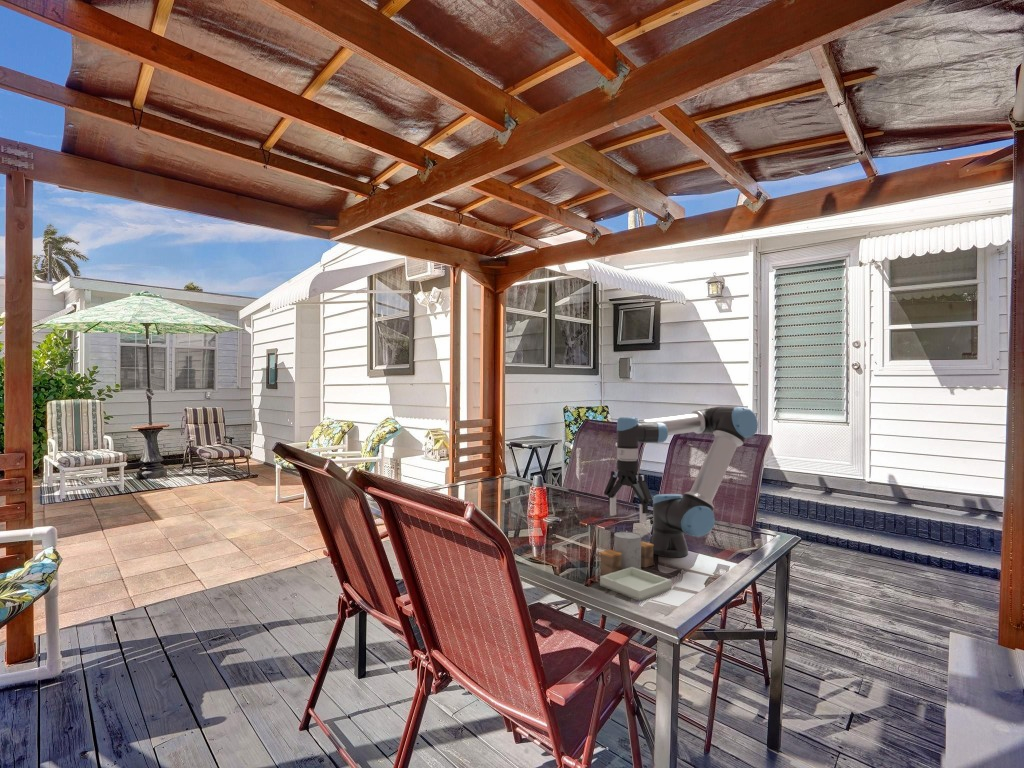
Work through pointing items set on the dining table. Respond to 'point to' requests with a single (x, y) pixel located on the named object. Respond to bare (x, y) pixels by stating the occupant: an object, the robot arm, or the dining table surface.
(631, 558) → the grey cylinder
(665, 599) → the dining table surface
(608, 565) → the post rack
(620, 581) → the tray
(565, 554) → the dining table surface
